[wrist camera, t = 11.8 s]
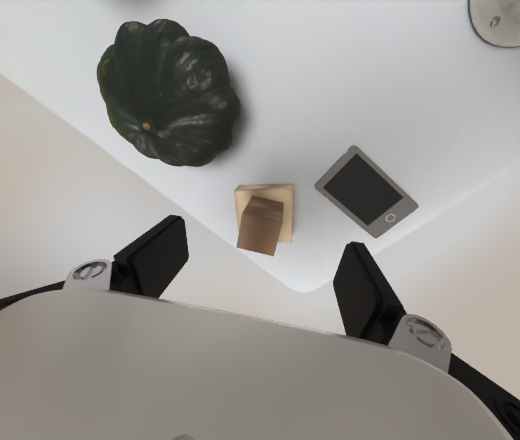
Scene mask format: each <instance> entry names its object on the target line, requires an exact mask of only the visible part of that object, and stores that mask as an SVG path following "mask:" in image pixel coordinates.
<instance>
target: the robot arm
mask: <svg viewBox="0 0 520 440" xmlns="http://www.w3.org/2000/svg"><path fill="white" fill-rule="evenodd" d="M470 13H471V18H472V23H473V25H474V27H475V29H476V31H477V32H478V34H479V35H480V36H481V37H482V38H483V39H484V40H486V41H488V42H489V43H491V44H493V45H498V46H502V47H516V46H520V0H470ZM188 257H189V254H188V245H187V238H186V229H185V221H184V219H182V217H181V216H176V215H169V216H168V217H166V218H165V219H164V220H162V221H161V222H160V223H158V224H157V225H155V226H154V227H153V228H151V229H150V230H149V231H147V232H146V233H144V234H143V235H142V236H140V237H139V238H137V239H136V240H135V241H134V242H132V243H131V244H129V245H128V246H126V247H125V248H124V249H122V250H121V251H120V252H118V253H117V254H115V255H114V259H115V261H113V262H112V263H111V262H110V261H109V260H105V259H98V260H92V261H89V262H86V263H83V264H81V265H79V266H77V267H76V268H74V269H73V270H72V271H71V272H70V273H69V275H68V276H67V279H66V280H65V281H62V282H58V283H55V284H51V285H48V286H44V287H41V288H37V289H34V290H30V291H27V292H24V293H20V294H16V295H13V296H10V297H6V298H3V299H0V440H520V400H519V399H517V398H516V397H514V396H513V395H511V394H510V393H508V392H507V391H506V390H504V389H503V388H501V387H500V386H498V385H497V384H496V383H494V382H493V381H491V380H490V379H488V378H487V377H486V376H484V375H482V374H481V373H480V372H478V371H477V370H475V369H474V368H473V367H471V366H470V365H468V364H467V363H465V362H464V361H462V360H461V359H459V358H458V357H457V356H455V355H454V354H453V353H451V350H452V348H451V343H450V341H449V339H448V338H447V336H446V335H445V334H444V333H443V332H442V331H441V330H440V329H439V328H438V327H437V326H436V325H434V324H433V323H431V322H430V321H428V320H426V319H424V318H423V317H420V316H417V315H413V314H407V313H406V311H405V310H404V308H403V305H402V304H401V302H400V301H399V299H398V297H397V296H396V294H395V293H394V291H393V290H392V288H391V286H390V284H389V283H388V281H387V280H386V278H385V276H384V275H383V273H382V272H381V270H380V269H379V267H378V265H377V264H376V262H375V261H374V259H373V257H372V256H371V254H370V253H369V251H368V249H367V248H366V246H365V245H364V243H359V242H351V243H350V244H347V245H346V247H345V250H344V252H343V255H342V258H341V261H340V264H339V266H338V269H337V272H336V275H335V277H334V280H333V286H334V291H335V294H336V298H337V302H338V306H339V309H340V313H341V317H342V320H343V324H344V327H345V331H346V335H341V334H336V333H331V332H327V331H322V330H318V329H313V328H307V327H302V326H298V325H293V324H287V323H283V322H277V321H273V320H268V319H263V318H257V317H251V316H247V315H242V314H237V313H232V312H227V311H221V310H216V309H211V308H205V307H201V306H195V305H190V304H185V303H179V302H174V301H169V300H164V299H158V298H159V297H160V295H161V294H162V293H163V292H164V290H165V289H166V288H167V286H168V285H169V284H170V283H171V281H172V280H173V279H174V277H175V276H176V275H177V273H178V272H179V271H180V269H181V268H182V267H183V266H184V264H185V263H186V262H187V260H188Z"/></svg>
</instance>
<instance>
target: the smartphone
mask: <svg viewBox="0 0 520 440" xmlns="http://www.w3.org/2000/svg"><path fill="white" fill-rule="evenodd" d="M315 188H316V189H317V190H318V191H319V192H320V193H321V194H322V195H324V196H325V197H326V198H327V199H328V200H330V201H331V202H332V203H333V204H334V205H336V206H337V207H338V208H339V209H341V210H342V211H343V212H344V213H345V214H347V215H348V216H349V217H350V218H351V219H353V220H354V221H355V222H356V223H357V224H358V225H360V226H361V227H362V228H363V229H364V230H366V231H367V232H368V233H369V234H370V235H371V236H373V237H374V238H378V237H379V236H381V235H382V234H383V233H385V232H386V231H387V230H389V229H390V228H391V227H393V226H394V225H396V224H397V223H398V222H400V221H401V220H402V219H404V218H405V217H406V216H408V215H409V214H410V213H412V212H413V211H414V210H416V209H417V208H418V204H417V203H416V202H415V201H414V200H413V199H412V198H411V197H409V196H408V195H407V194H406V193H405V192H404V191H403V190H402V189H401V188H400V187H399V186H398V185H397V184H396V183H395V182H394V181H393V180H392V179H391V178H389V177H388V176H387V175H386V174H385V173H384V172H383V171H382V170H381V169H380V168H379V167H378V166H377V165H376V164H375V163H374V162H373V161H372V160H370V159H369V158H368V157H367V156H366V155H365V154H364V153H363V152H362V151H361V150H360V149H359V148H358V147H356V146H351V147H350V148H349V150H348V151H346V152H345V153H344V154H343V156H342V157H341V158H340V159H339V160H338V161H337V162H336V163H335V164H334V165H333V166H332V167H331V168H330V169H329V171H328V172H327V173H326V174H325V175H324V176H323V177H322V178H321V179H320V180H319V181H318V182H317V183H316V184H315Z"/></svg>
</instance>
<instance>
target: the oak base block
mask: <svg viewBox="0 0 520 440" xmlns="http://www.w3.org/2000/svg"><path fill="white" fill-rule="evenodd" d="M234 195H235V204H236V213H237V221H238V230H239V229H240V223H241V216H242V213H243V211H244V209H245V207H246V206H247V204H248V202H249V200H250V198H251V197H252V196H256V197H260V198H265V199H269V200H274V201H278V202H283V203H284V207H283V223H282V227H281V231H280V234H279V238H278V242H292V216H293V185H292V184H274V185H239V186H238V187H237V188H236V189H235V191H234Z"/></svg>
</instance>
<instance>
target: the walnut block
mask: <svg viewBox="0 0 520 440" xmlns="http://www.w3.org/2000/svg"><path fill="white" fill-rule="evenodd" d="M283 207H284V203H283V202H278V201H274V200H269V199H265V198H260V197H256V196H252V197H251V198H250V200H249V202H248V204H247V206H246V207H245V209H244V211H243V213H242V216H241V223H240V229H239V236H238V242H237V248H241V249H245V250H250V251H254V252H258V253H262V254H267V255H271V256H274V253H275V249H276V245H277V242H278V238H279V234H280V231H281V227H282V223H283Z"/></svg>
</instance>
